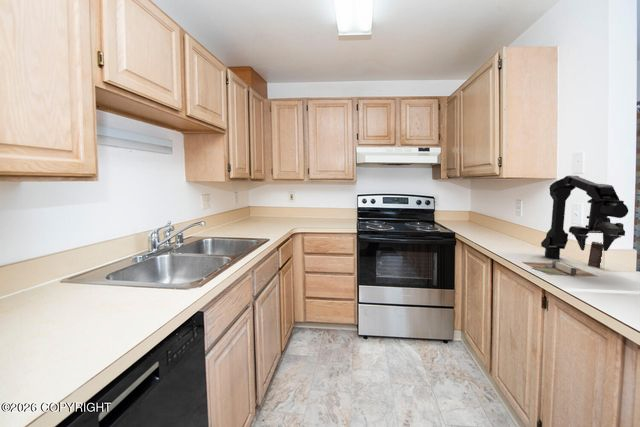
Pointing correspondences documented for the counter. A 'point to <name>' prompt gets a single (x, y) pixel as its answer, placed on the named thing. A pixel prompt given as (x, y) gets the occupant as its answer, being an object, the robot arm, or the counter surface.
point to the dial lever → (564, 267)
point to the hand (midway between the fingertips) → (593, 250)
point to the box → (595, 254)
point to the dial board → (556, 269)
